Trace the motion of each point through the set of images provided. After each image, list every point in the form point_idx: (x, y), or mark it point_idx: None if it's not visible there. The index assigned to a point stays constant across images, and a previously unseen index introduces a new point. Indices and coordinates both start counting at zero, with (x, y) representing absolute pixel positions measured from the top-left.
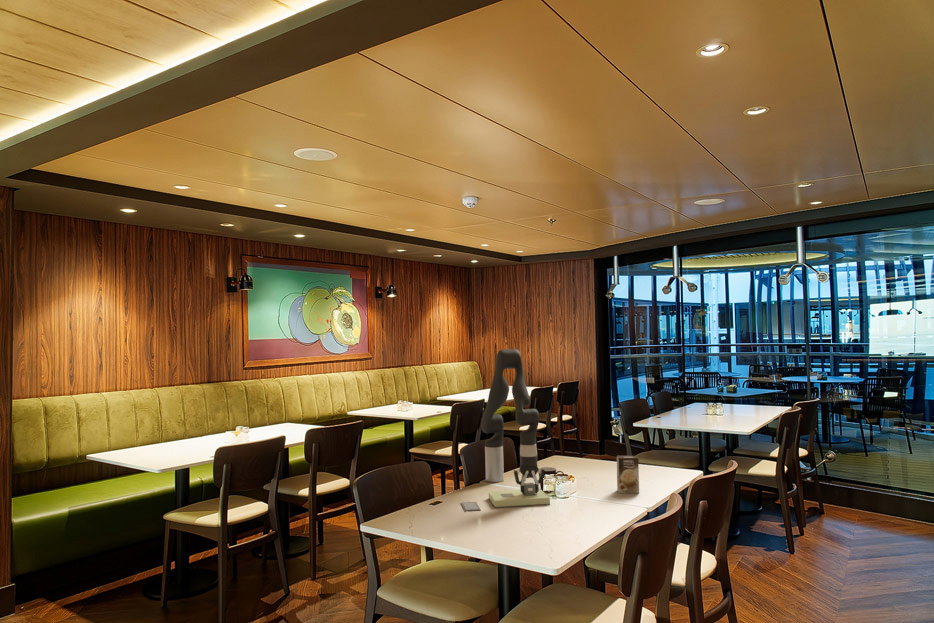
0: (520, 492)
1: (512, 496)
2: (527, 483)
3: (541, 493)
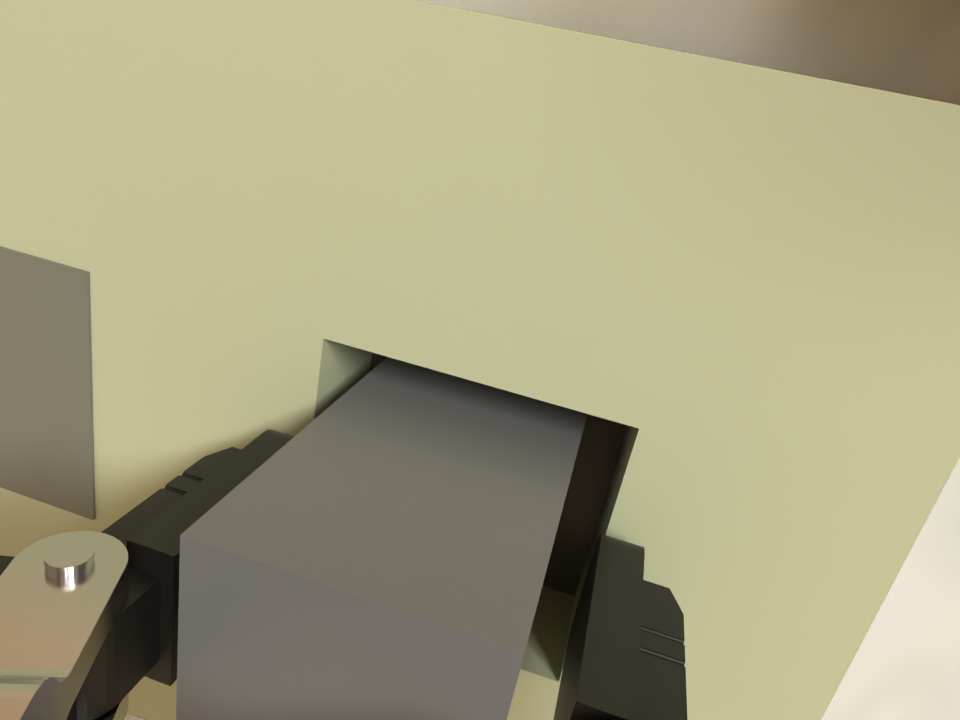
0: (295, 278)
1: (53, 506)
2: (287, 659)
3: (748, 624)
